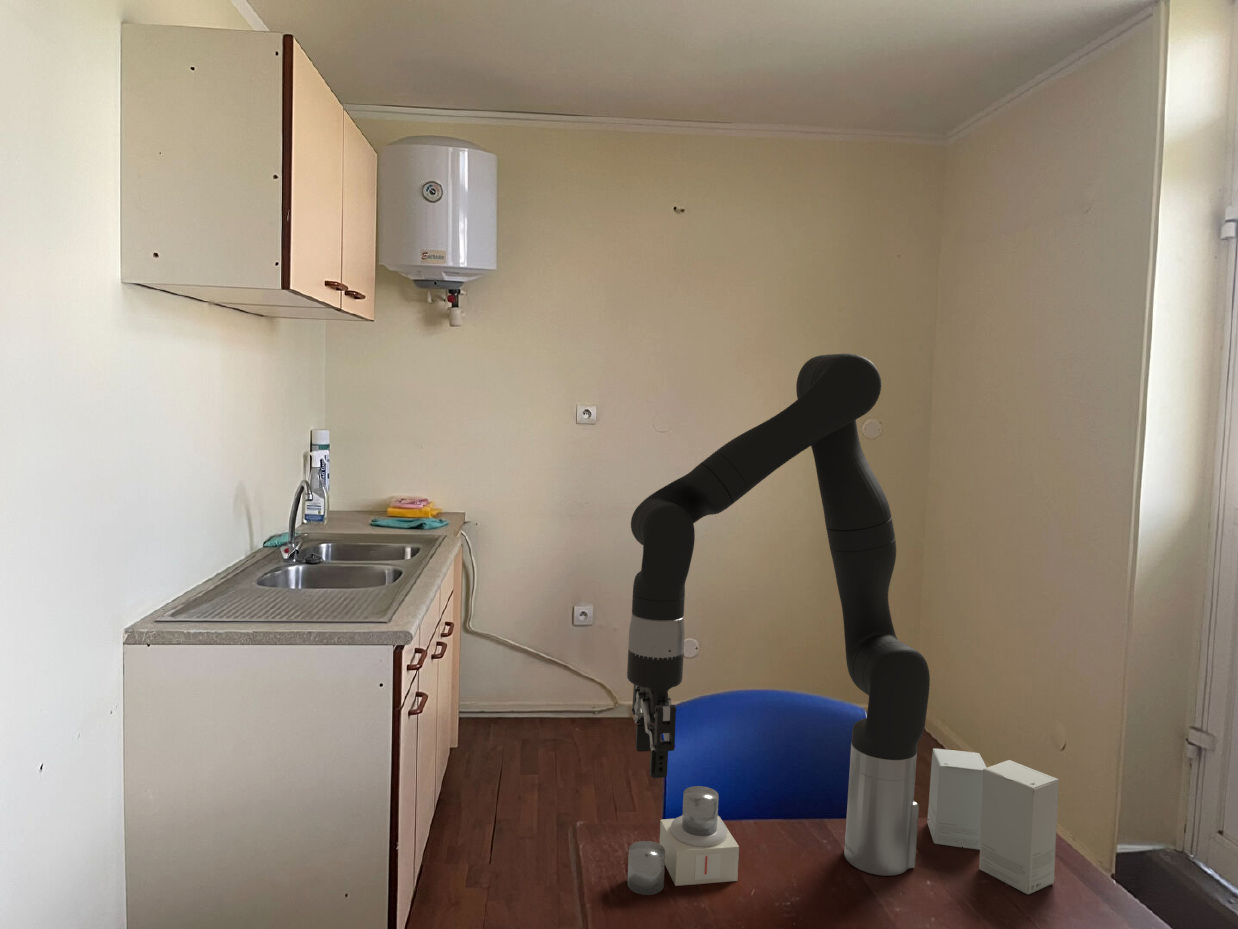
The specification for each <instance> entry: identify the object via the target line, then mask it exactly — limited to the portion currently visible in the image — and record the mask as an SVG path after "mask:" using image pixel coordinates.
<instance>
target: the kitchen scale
mask: <svg viewBox="0 0 1238 929" xmlns="http://www.w3.org/2000/svg"><path fill="white" fill-rule="evenodd" d="M659 826H660V827H659V828H660V829H659V844H660V845H662V846H663V847H664V849H665V867H666V869H667V872H668V874H669V876H670V877H671V880H672V882H673V884H674V886H675V887H678V886H688V885H689V886H691V885H701V884H713V883H715V884H716V883H726V882H738V876H739V873H738V872H739V856H740V846H739V844H738V843H737V841H736V840H735V838H734V836H733V835H732V833H731V832H730V831H729V829H728V828H727V825H726V824H725V822H724V821H723V820H722V818H721V816H719V815H718V818H717V831H716V832H715V833H714V834H712V835H709V836H695V835H691V834H689V833H687V832H685V831H684V830H683V828H682V815H680V816H677V817H676V818H666V819H663V818H662V819H660V824H659Z"/></svg>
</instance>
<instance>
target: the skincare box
mask: <svg viewBox="0 0 1238 929" xmlns="http://www.w3.org/2000/svg"><path fill="white" fill-rule="evenodd" d="M986 767H987V766H986ZM1059 781H1060V779H1059V778H1057V777H1054V776H1052V775H1049V774H1046V773H1045V772H1041V771H1039V770H1037V769H1033V768H1031V767H1028V766H1026V765H1023V764H1020V763H1018V762H1016V761H1013V760H1011V759H1008V760H1004V761H1001V762H999V763H996V764H994V765H990V766H988V767H987V768H984V769H983V789H982V814H981V839H980V850H979V864H978V865H979V867H978V868H979V870H980V871H982V872H984V873H985V874H988V875H990V876H992V877H994V879H998V880H999V881H1001V882H1002V883H1004V884H1007V885H1009V886H1010V887H1013V888H1014V889H1016V890H1018V891H1019V892H1022V893H1023V894H1026V895H1030V894H1033V893H1035V892H1037V891H1040V890H1042V889H1044V888H1046V887H1049V886H1050V885H1052V884H1053V883H1055V882H1054V881H1055V868H1056V867H1055V866H1056V864H1055V863H1056V846H1057V845H1056V844H1057V827H1058V826H1057V824H1058V822H1057V821H1058V805H1059V801H1058V800H1059V786H1060V785H1059V783H1060V782H1059Z"/></svg>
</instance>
